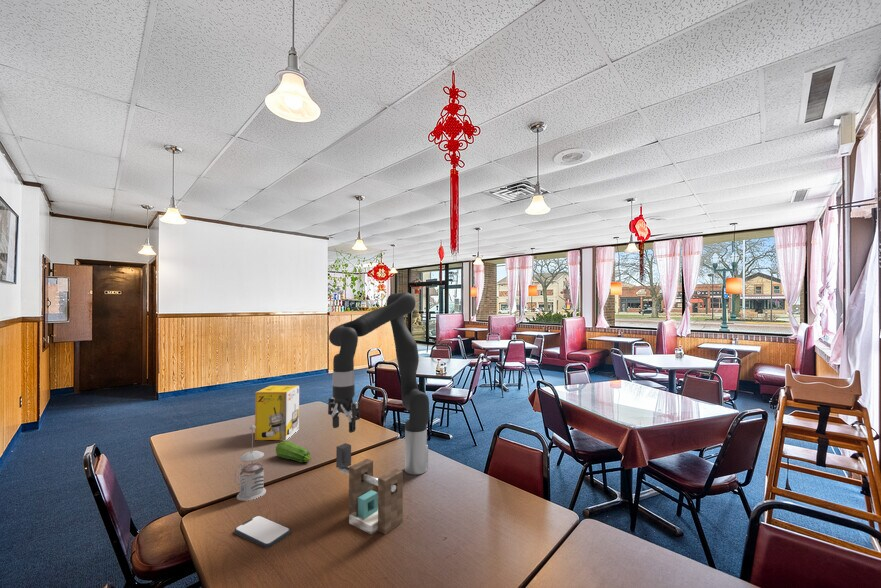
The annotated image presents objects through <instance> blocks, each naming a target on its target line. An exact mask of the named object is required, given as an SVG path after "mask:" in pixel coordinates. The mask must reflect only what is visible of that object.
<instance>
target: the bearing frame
mask: <svg viewBox="0 0 881 588" xmlns="http://www.w3.org/2000/svg"><path fill="white" fill-rule="evenodd" d="M348 467H349V474H348V523H349V524H350V525H352V526H354V527H355V528H357V529H360V530H362V531H363V532H365V533H367V534H369V535H371V536H372V535H374V534H375V533H377V532H379V533H381V534H383V535H386V534H389V533H390V532H391V531H392V530H393V529H394V528H396V527H398V526H399V525H400V524H402V523H403V519H404V516H403V515H404V512H403V511H404V510H403V509H404V508H403V506H404V504H403V501H404V500H403V499H404V498H403V494H404V493H403V491H404V490H403V489H404V486H403V485H404V483H403V482H404V481H403V480H404V478H403V476H404V473H403V472H404V471H403V470H401V469H398V468H394V469H392V470H391V471H389V472H387V473H385V474H383V475H381V476H378V486H377V493H378V511H377V512H375V513H373V514H372V515H370V516H369V517H367V518H366V519H362V518H360V517H358V497H360V496H362V495H363V494H365V493H367V492H369V491H370V490H373V491H374V484H371V483H369V482H366V481H364V480H361V474H363V473H365V474H367V475H370V476H372V477H374V460H372V459H369V458H366V459H364V460H362V461H359V462H357V463H354V464H351V465H350V466H348ZM392 485H396V490H395V492H391V486H392Z"/></svg>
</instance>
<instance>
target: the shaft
mask: <svg viewBox="0 0 881 588" xmlns="http://www.w3.org/2000/svg"><path fill="white" fill-rule="evenodd" d="M335 454H336V456H335V457H336V461H335V462H336V463H335V464H336V468H338V471H339V472H341V473H345V474H347V475H349V467H350V466H352V445H351V444H349V443H347V442H345V443H343V444H340V445H338V446H336V453H335ZM378 478H379V477H378ZM378 478H377V477H376V476H373V477H372V476H370V475H367V474H365V473H363V474H361V480H364V481H366V482H369V483H371V484H373V486H377V487H378ZM395 490H396V485H392V486H391V492H395Z"/></svg>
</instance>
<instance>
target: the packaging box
mask: <svg viewBox="0 0 881 588" xmlns="http://www.w3.org/2000/svg"><path fill="white" fill-rule="evenodd" d="M254 405H255V406H254V408H255V409H254V410H255V412H254V414H255V415H254V418H255V419H254V426H255V427H256V428H255V429H254V441H255V440H287V439H288V438H289V437H290V438H292V437H293V436H294V435H295V434H296V433H297V431H298V430H299V431H300V385H268V386H267V387H263V388H262V389H260V390H258V391H255V402H254ZM299 431H298V432H299ZM295 432H296V433H295ZM294 433H295V434H294ZM293 434H294V435H293ZM292 435H293V436H292ZM291 436H292V437H291ZM290 438H289V439H290ZM289 439H288V440H289ZM288 440H287V441H288Z"/></svg>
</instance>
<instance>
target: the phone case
mask: <svg viewBox="0 0 881 588" xmlns="http://www.w3.org/2000/svg"><path fill="white" fill-rule="evenodd" d="M234 534H235V535H237V536H239V537H241V538H243V539H246V540H248V541H249V542H252V543H254V544H256V545H258V546H261V547H263V548H264V547H265V549H267V547H268V548H271V547H272V546H274V545H275V544H277V543H279V542H280V541H281V540H283V539H285V538H286V537H287V536H289V535H290V534H291V529H290V527H286V526H284V525H283V524H280V523H278V522H276V521H273V520H271V519H268V518H267V517H264V516H262V515H256V516H254V517H252V518H250V519H248V520H247V521H245V522H243V523H242V524H240V525H238V526H236V527H235V528H234ZM270 546H271V547H270Z"/></svg>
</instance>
